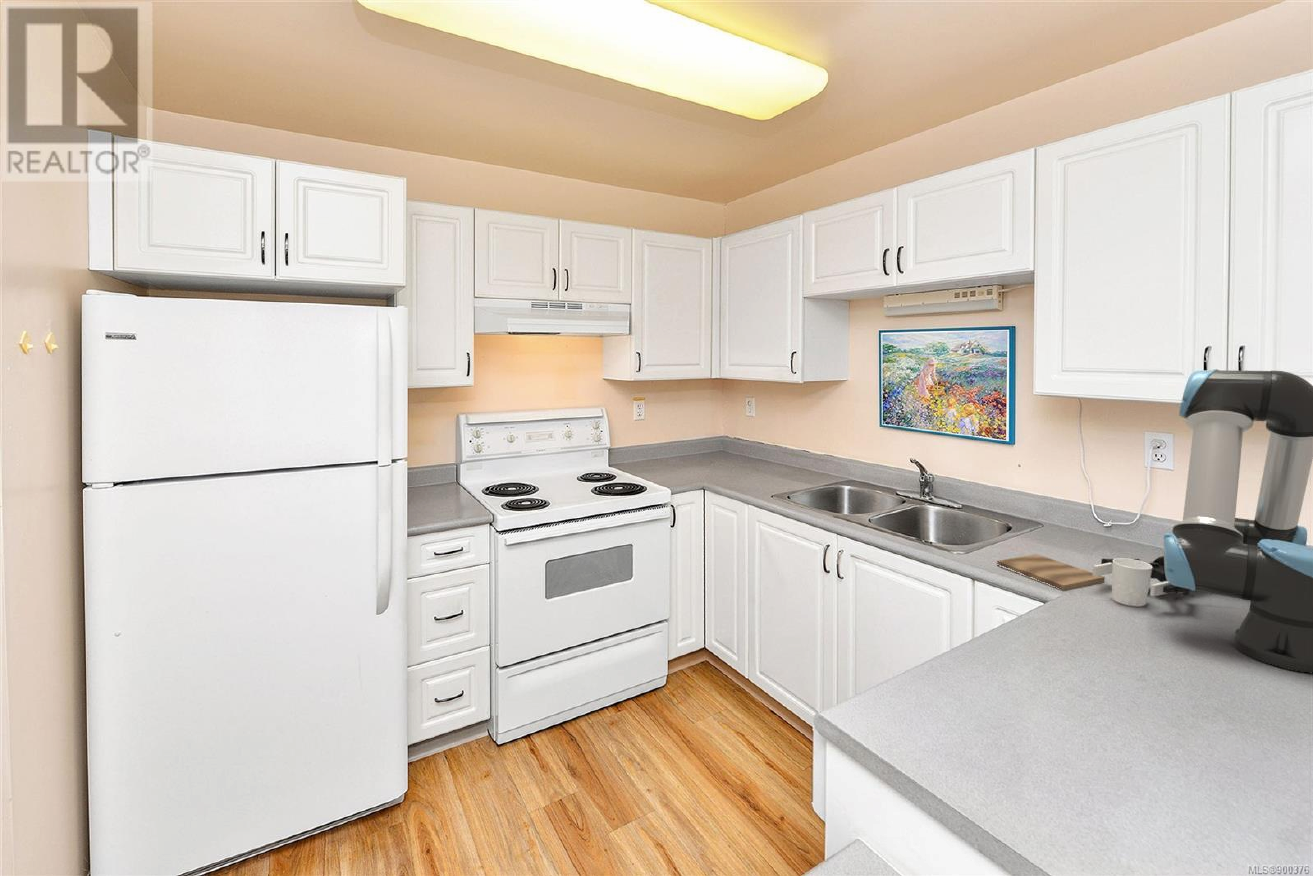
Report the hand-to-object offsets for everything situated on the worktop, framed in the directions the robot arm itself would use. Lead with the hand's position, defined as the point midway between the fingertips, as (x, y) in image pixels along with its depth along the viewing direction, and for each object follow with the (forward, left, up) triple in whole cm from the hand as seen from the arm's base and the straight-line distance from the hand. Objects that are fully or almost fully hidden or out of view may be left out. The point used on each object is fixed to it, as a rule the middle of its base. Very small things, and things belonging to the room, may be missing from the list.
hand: (1122, 580), depth 150 cm
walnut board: (+19, +7, -6) cm, 22 cm away
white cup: (+1, -3, -6) cm, 7 cm away
